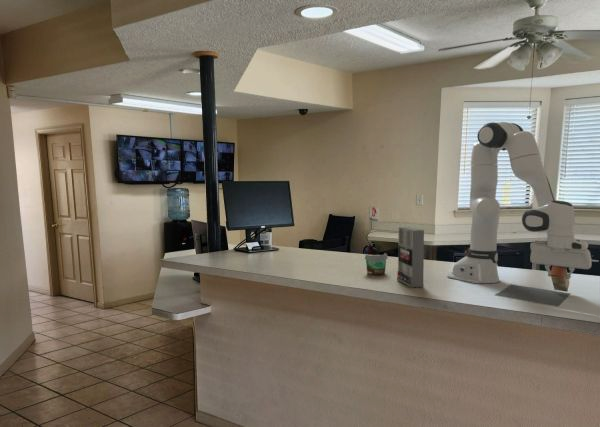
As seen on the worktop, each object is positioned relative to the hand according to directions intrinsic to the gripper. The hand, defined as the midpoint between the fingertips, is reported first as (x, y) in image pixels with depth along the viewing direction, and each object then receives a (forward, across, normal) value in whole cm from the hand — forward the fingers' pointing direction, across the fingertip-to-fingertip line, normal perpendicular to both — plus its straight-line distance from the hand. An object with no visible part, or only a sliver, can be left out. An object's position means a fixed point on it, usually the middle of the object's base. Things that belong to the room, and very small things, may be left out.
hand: (559, 277), depth 160 cm
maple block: (+5, 0, +6) cm, 7 cm away
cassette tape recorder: (+8, -54, -19) cm, 58 cm away
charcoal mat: (+8, -8, -4) cm, 12 cm away
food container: (+8, -74, -13) cm, 76 cm away
